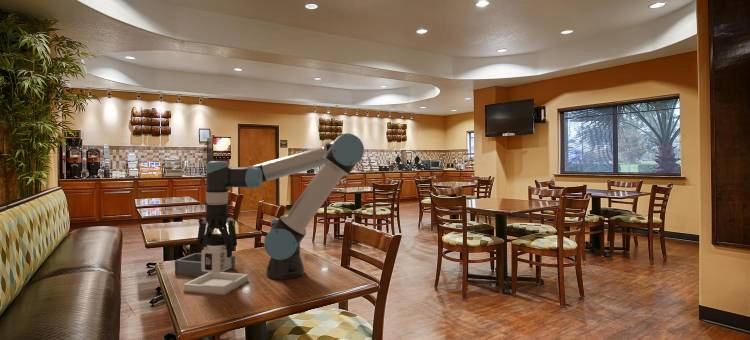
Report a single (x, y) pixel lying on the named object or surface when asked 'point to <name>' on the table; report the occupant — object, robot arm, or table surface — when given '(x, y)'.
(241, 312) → the table surface
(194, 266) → the bay
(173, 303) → the table surface
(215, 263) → the container
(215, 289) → the tray
